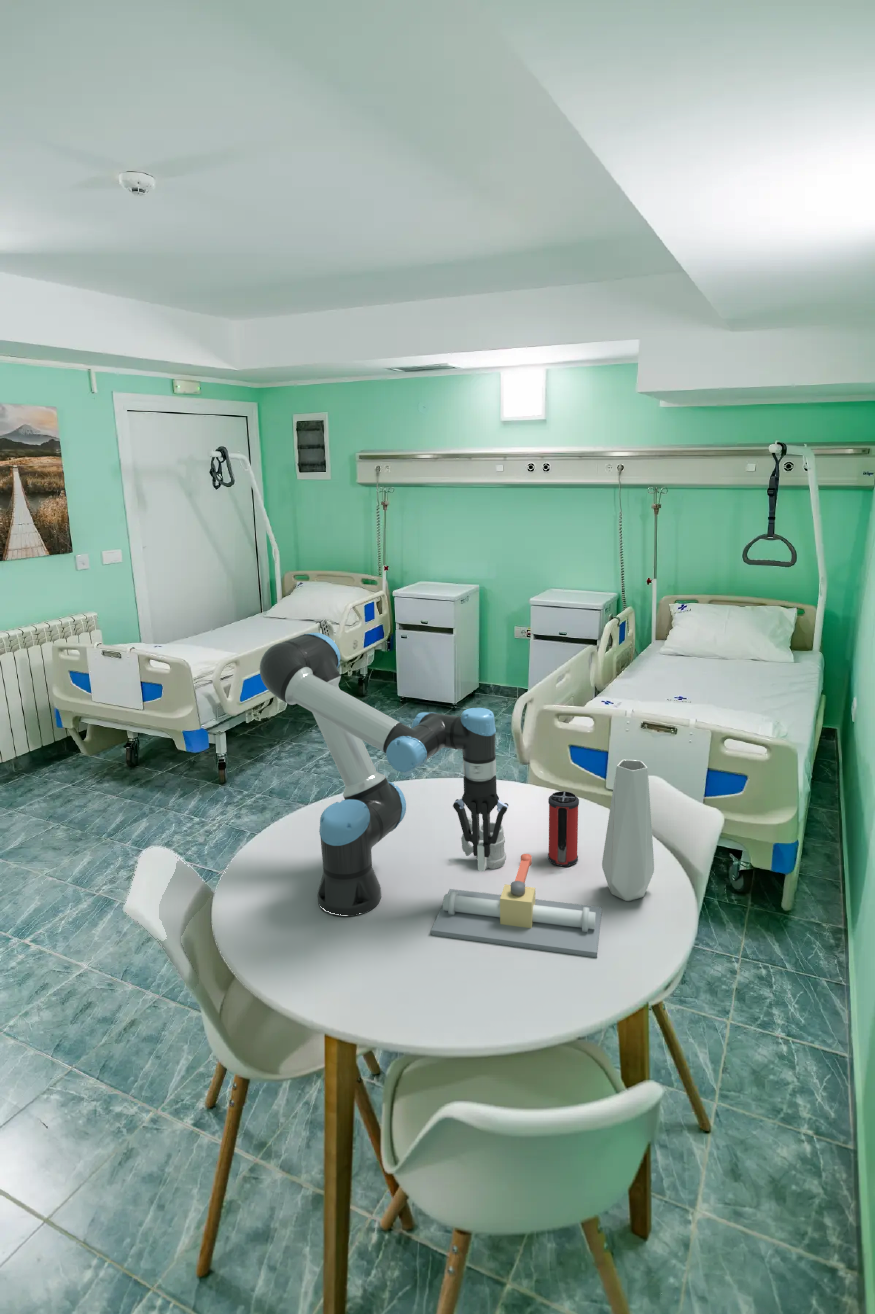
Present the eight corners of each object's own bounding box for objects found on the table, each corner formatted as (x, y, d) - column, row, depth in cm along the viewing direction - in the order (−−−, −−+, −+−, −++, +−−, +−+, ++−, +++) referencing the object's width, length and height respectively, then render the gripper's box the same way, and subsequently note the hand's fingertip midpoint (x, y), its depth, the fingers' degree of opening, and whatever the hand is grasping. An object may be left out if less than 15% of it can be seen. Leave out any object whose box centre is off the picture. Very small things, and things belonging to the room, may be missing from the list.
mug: (503, 871, 192) (503, 828, 189) (458, 866, 195) (457, 824, 192) (508, 856, 199) (508, 814, 196) (464, 851, 202) (464, 810, 199)
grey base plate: (431, 934, 167) (430, 904, 165) (449, 893, 183) (449, 865, 181) (596, 957, 158) (597, 925, 156) (601, 911, 174) (602, 882, 172)
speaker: (546, 865, 194) (547, 801, 189) (549, 851, 201) (549, 788, 197) (576, 868, 192) (578, 804, 187) (578, 853, 199) (579, 791, 195)
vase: (609, 874, 189) (613, 751, 181) (655, 885, 183) (662, 759, 175) (593, 898, 179) (596, 769, 171) (641, 911, 173) (647, 778, 165)
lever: (523, 897, 166) (523, 889, 166) (509, 895, 167) (509, 887, 167) (533, 862, 181) (533, 854, 180) (520, 860, 182) (520, 853, 181)
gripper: (448, 780, 171) (451, 873, 176) (505, 784, 167) (506, 879, 173) (455, 767, 178) (459, 857, 183) (510, 770, 174) (512, 862, 180)
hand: (482, 868), depth 178 cm, fingers closed
